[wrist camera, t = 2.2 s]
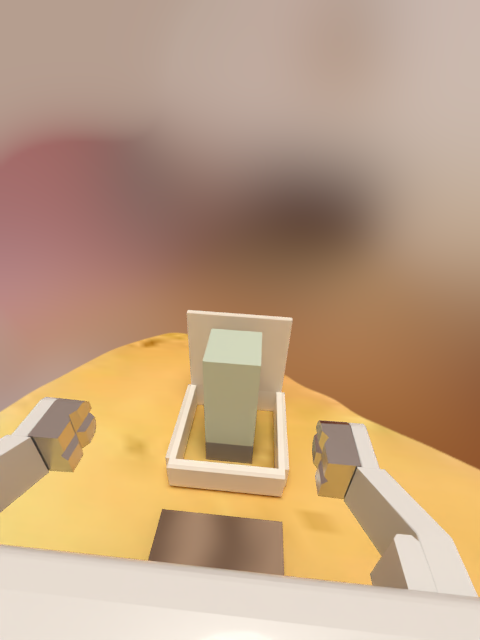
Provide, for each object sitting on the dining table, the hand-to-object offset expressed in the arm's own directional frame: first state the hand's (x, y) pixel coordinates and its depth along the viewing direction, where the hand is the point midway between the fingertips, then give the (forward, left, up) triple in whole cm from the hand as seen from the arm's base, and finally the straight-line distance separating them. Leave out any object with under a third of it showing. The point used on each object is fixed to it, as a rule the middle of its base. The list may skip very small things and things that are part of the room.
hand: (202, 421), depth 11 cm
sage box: (0, +15, -22) cm, 27 cm away
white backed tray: (0, +15, -22) cm, 27 cm away
